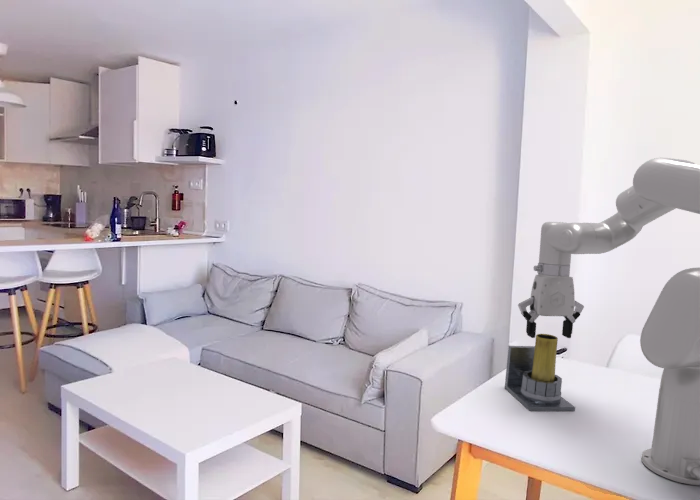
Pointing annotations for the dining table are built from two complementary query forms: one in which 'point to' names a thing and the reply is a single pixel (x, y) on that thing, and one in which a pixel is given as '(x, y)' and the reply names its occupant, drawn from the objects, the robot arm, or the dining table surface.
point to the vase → (544, 358)
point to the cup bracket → (532, 383)
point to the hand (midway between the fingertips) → (548, 336)
